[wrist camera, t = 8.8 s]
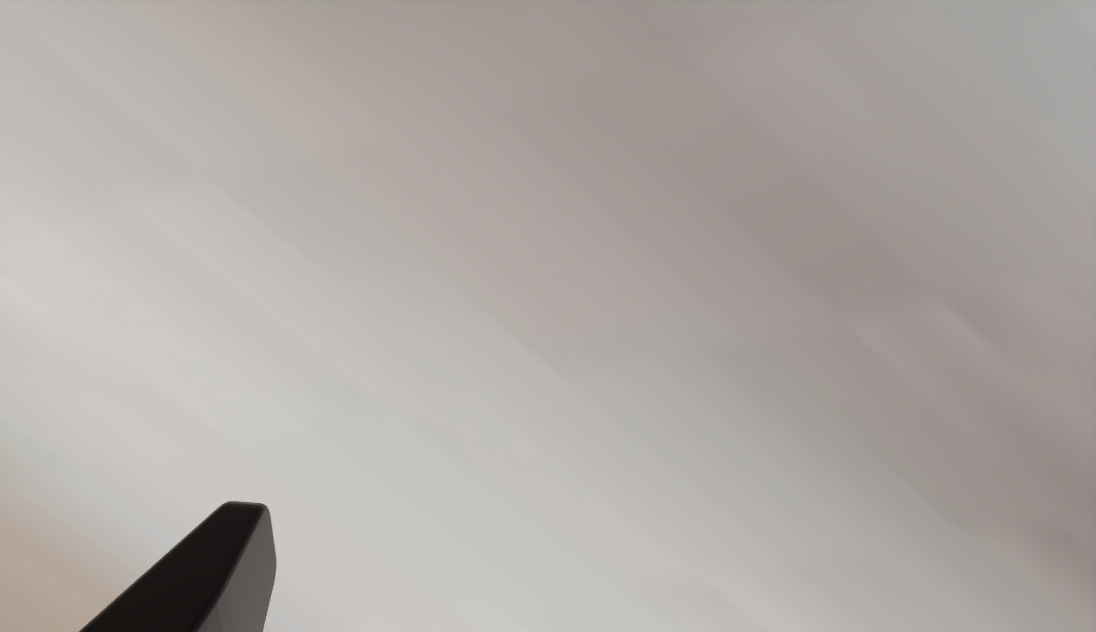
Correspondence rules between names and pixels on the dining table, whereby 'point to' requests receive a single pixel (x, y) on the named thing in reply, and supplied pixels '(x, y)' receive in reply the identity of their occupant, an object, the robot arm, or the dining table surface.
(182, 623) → the robot arm
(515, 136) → the dining table surface
